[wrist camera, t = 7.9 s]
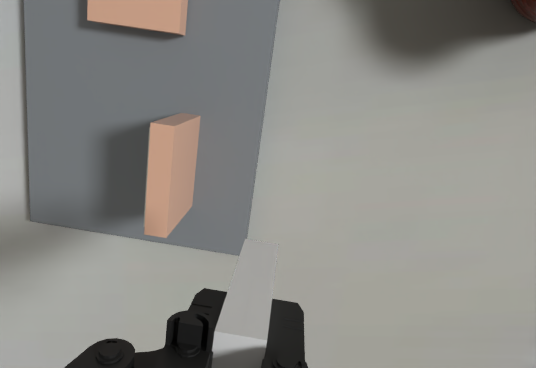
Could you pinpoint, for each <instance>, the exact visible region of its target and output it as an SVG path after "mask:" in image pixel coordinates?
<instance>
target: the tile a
mask: <svg viewBox="0 0 536 368" xmlns="http://www.w3.org/2000/svg"><path fill="white" fill-rule="evenodd" d="M187 7H188V0H88V6H87V20H89V21H92V22H96V23H102V24H109V25H116V26H122V27H129V28H136V29H143V30H150V31H157V32H163V33H170V34H177V35H184V36H185V33H186V20H187Z"/></svg>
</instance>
